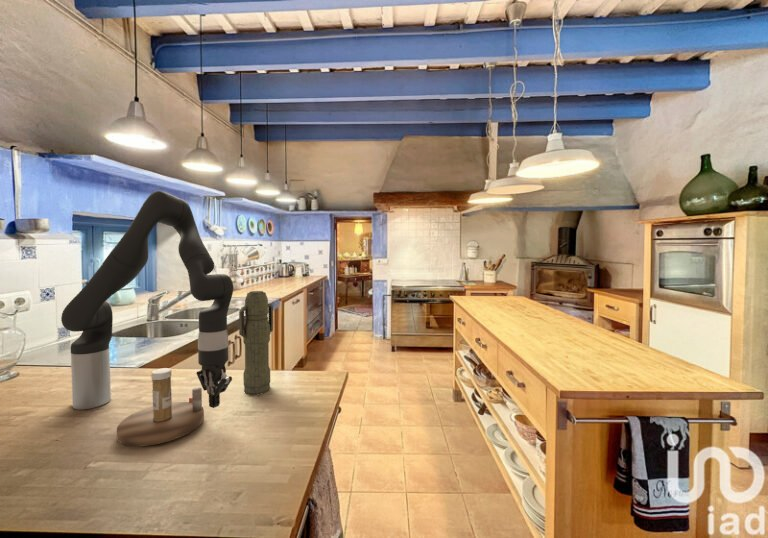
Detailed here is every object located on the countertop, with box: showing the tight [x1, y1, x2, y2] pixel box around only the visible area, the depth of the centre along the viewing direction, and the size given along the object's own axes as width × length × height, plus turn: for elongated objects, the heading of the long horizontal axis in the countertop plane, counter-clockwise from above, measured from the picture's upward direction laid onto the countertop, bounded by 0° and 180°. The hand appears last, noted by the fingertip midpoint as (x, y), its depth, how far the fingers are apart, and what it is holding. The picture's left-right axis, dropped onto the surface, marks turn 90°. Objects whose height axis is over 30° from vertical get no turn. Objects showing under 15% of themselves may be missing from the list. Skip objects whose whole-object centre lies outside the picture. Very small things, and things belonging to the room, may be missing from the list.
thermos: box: [238, 290, 274, 396], centre depth 119 cm, size 9×12×35 cm
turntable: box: [116, 386, 205, 447], centre depth 93 cm, size 20×20×8 cm
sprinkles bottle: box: [151, 367, 173, 422], centre depth 93 cm, size 5×5×13 cm
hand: (214, 406), depth 95 cm, fingers closed
